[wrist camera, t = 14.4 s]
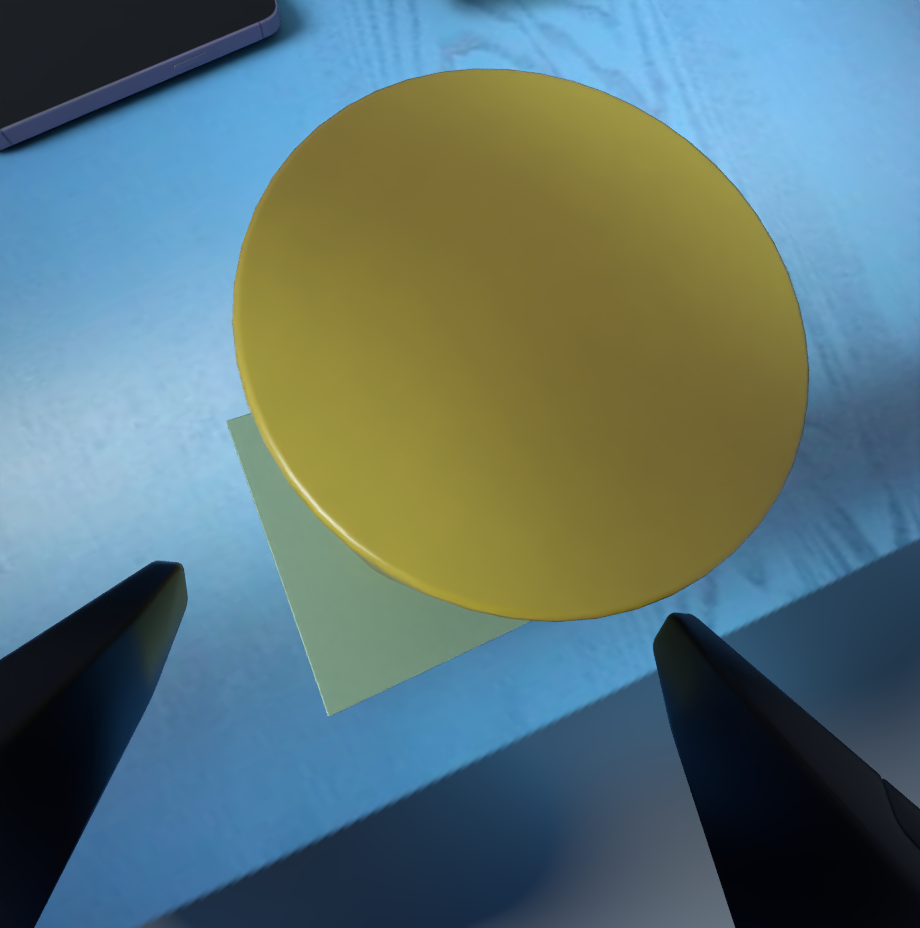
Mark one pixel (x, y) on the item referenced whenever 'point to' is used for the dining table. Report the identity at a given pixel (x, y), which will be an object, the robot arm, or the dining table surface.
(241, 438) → the green block
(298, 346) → the yellow tumbler
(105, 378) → the dining table surface
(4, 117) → the smartphone
